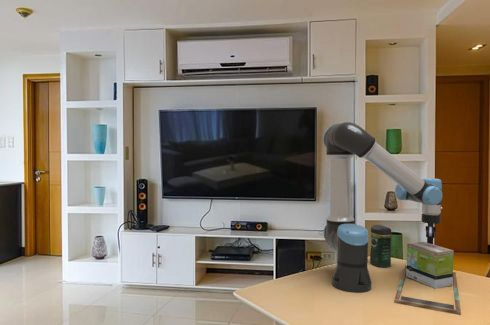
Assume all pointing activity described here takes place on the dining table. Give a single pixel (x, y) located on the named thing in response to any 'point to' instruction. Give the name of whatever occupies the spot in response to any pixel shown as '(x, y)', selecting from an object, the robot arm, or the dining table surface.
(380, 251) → the coffee jar
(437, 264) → the tea box
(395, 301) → the tray
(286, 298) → the dining table surface
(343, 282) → the robot arm
